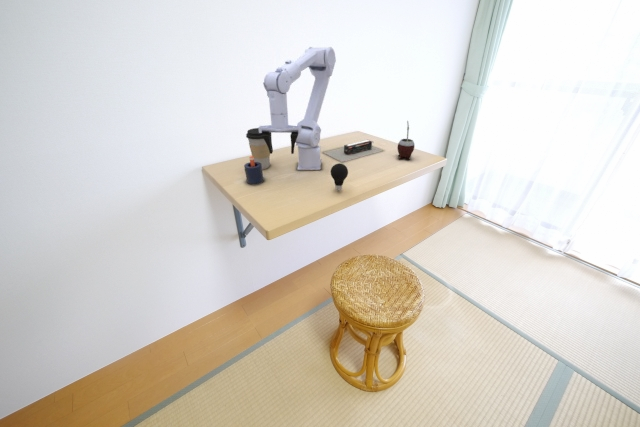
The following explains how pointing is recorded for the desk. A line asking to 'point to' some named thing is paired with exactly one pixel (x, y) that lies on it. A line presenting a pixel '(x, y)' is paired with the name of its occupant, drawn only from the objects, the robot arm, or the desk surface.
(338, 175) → the light bulb
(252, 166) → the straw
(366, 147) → the model train on plate
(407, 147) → the mate gourd
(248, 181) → the navy hollow cylinder
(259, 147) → the coffee cup
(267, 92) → the robot arm
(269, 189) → the desk surface
